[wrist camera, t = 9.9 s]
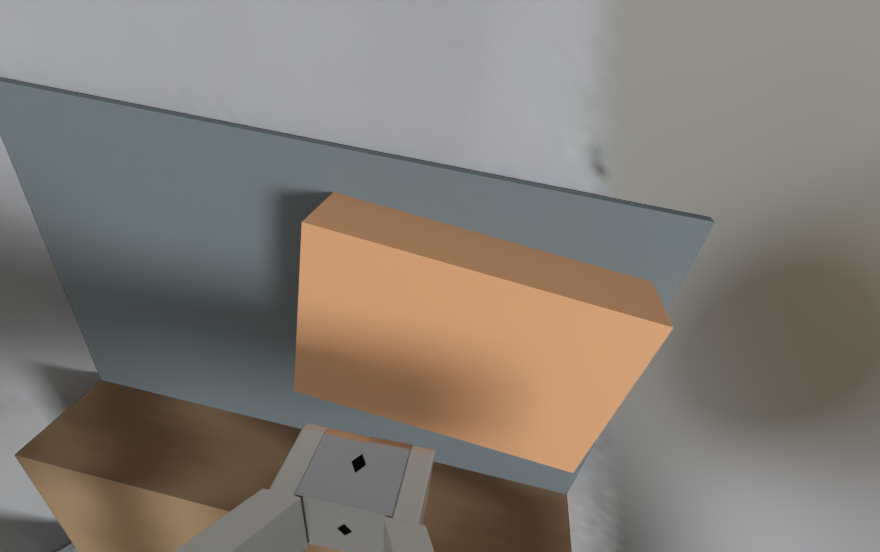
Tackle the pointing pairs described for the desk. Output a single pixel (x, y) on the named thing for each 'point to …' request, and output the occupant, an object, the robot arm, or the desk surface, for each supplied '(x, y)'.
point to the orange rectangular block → (467, 331)
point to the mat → (269, 248)
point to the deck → (234, 479)
